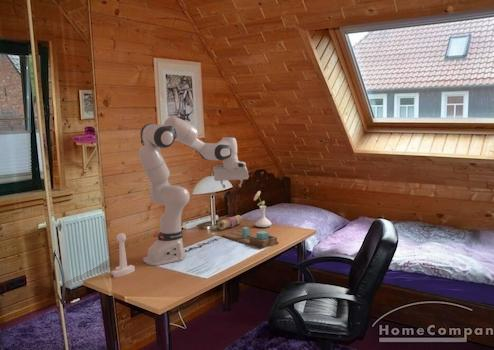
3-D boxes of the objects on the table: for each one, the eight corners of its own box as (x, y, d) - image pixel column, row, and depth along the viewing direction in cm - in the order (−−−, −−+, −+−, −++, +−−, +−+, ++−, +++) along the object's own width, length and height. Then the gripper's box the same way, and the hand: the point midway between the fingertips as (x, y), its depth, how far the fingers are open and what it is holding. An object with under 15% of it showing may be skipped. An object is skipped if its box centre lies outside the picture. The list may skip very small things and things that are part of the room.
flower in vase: (263, 223, 290) (262, 188, 287) (275, 226, 282) (274, 189, 278) (249, 227, 281) (248, 190, 278) (261, 230, 273) (260, 192, 270)
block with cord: (262, 244, 239) (262, 234, 238) (240, 237, 253) (240, 228, 252) (268, 242, 242) (268, 232, 241) (247, 236, 256) (246, 226, 255)
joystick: (116, 277, 196) (113, 236, 194) (107, 274, 201) (104, 234, 199) (136, 271, 204) (133, 231, 202) (127, 267, 209) (125, 229, 207)
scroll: (226, 229, 271) (245, 223, 286) (222, 218, 272) (241, 213, 287) (218, 233, 275) (238, 226, 291) (214, 222, 277) (234, 216, 292)
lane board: (261, 249, 233) (260, 242, 233) (221, 236, 260) (221, 230, 260) (278, 243, 242) (278, 237, 242) (238, 232, 269) (238, 226, 269)
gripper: (212, 165, 239) (213, 189, 241) (248, 164, 239) (249, 187, 242) (213, 164, 245) (214, 187, 248) (247, 162, 246) (248, 185, 248)
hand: (231, 187), depth 245 cm, fingers open, 8 cm apart
